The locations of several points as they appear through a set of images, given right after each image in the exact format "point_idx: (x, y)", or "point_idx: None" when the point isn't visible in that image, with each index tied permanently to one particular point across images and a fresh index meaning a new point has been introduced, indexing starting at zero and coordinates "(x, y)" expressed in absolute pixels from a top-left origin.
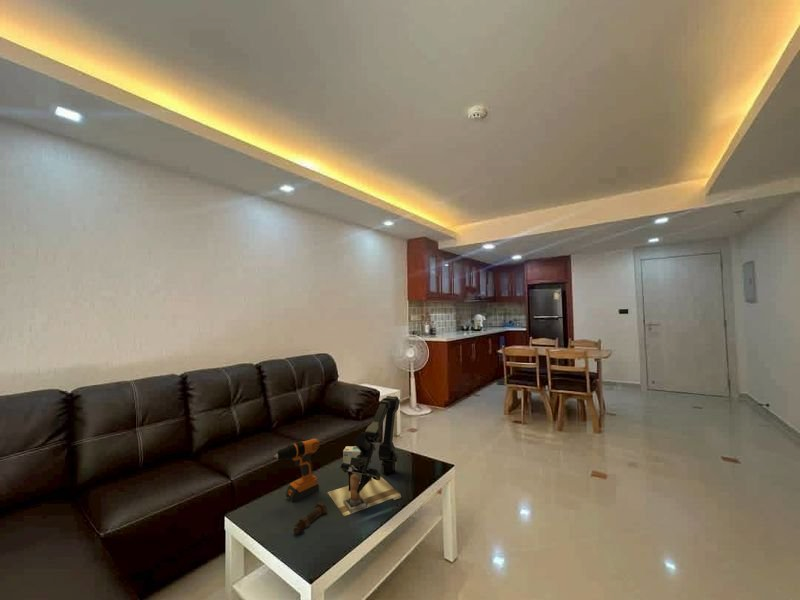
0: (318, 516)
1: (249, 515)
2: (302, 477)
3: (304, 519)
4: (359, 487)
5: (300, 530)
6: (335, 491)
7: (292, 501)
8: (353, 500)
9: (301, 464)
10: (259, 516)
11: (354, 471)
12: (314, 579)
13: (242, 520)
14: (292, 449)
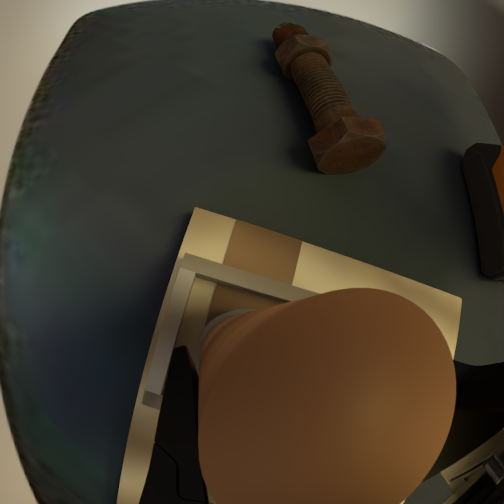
0: (312, 119)
1: (448, 74)
2: None
3: (299, 36)
4: (173, 396)
5: (276, 40)
6: (445, 338)
7: (466, 151)
8: (223, 318)
9: None
10: (436, 76)
11: (474, 488)
12: (78, 18)
13: (434, 57)
14: None
